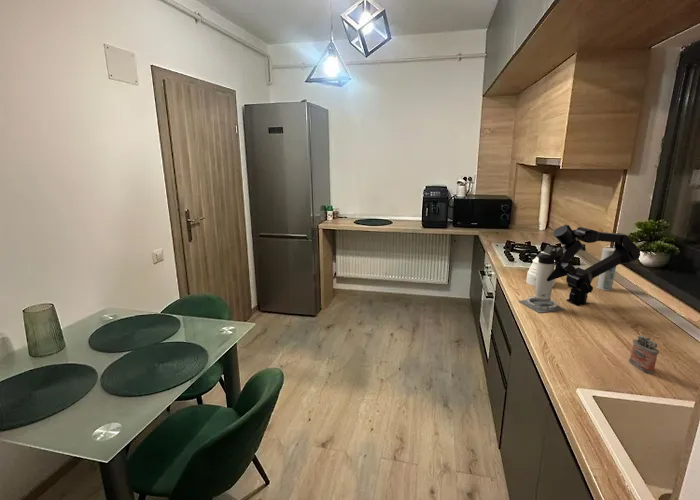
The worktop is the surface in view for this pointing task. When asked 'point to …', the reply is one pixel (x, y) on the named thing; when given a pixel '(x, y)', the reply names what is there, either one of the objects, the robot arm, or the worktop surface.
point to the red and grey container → (644, 354)
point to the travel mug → (544, 277)
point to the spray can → (607, 277)
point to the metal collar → (547, 308)
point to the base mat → (541, 303)
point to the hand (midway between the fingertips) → (542, 278)
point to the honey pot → (534, 272)
